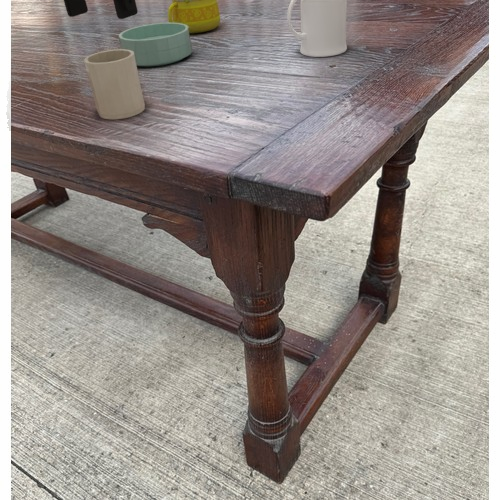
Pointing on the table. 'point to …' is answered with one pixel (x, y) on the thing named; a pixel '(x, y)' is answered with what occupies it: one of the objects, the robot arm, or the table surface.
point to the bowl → (157, 43)
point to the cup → (115, 83)
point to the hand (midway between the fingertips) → (102, 15)
